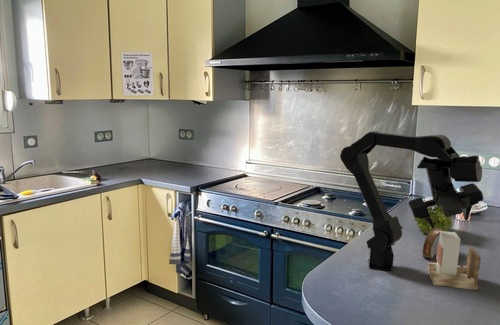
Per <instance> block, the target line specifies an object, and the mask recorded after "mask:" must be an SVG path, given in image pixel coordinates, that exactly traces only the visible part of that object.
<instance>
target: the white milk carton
mask: <svg viewBox="0 0 500 325" xmlns="http://www.w3.org/2000/svg"><path fill="white" fill-rule="evenodd" d="M461 240H462V239H461V238H460V236H459V235H458V234H457V232H454V231H447V232H446V231H440V240H439V243H438V248H437V254H436V258H435V259H436V263H437V267H436V270H437V272H438V274H447V275H455V276H456V273H457V265H458V264H459V254H460V246H461ZM458 266H459V265H458Z"/></svg>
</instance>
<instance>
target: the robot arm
mask: <svg viewBox="0 0 500 325" xmlns="http://www.w3.org/2000/svg"><path fill="white" fill-rule="evenodd" d="M376 146H381V147H387V148H395V149H403V150H409V151H410V150H411V151H414V152H416V153H418V154H420V155H423V157H422V159H421V160H420V161H419V163H418V165H417V169H425V170H426V174H427V179H428V184H429V189H430V194H431V197H432V199H429V200H426V201H424V199H423V198H422V197H418V198H415V199H410V200H409V201H408V208H409V210H410V213H411V214H412V216H413V217H414V218H420V219H422V218H424V219H426V220H427V221H428V223H429V224H430V226H431V227H432V228H433V229H435V228H434V224H433V222H432V220H431V217H430V214H429V212H428V209H429V208H432V209H434V207H436V206H440V208H441V210H442V212H443V214H444V216H446V217H451V216H453V217H454V216H456V215H461V214H462V215H463V217H464V221H466V222H467V221H468V219H469V217H470V213H471V211H472V208H473V206H475V205H478V204H479V202H482V201H483V200H484V195H483V194H484V193H483V192H482V190H481V189H480V188H479V187H478V186H477V185H476V184H475V183H480V182H481V181H482V178H483V167H482V164H481V160H480V156H479V155H469V156H460V155H459V153H458V152H457V151H456V149H454V147H453V146H452V144H451V140H450V139H449V137H447V136H446V135H443V134H434V135H432V134H431V135H419V136H418V135H417V136H415V135H405V134H398V133H388V132H381V131H377V130H376V131H375V130H374V131H368V132H367V133H365V134H364V135H363V136H362V137H361V138H359V139H357V140H356V141H355V142H353V143H352V144H350V145H349V146H344V147H343V148H342V149H341V152H340V154H339V157H340V160H341V162H342V163H343V165H344V166H345V168H346V169H347V170H348V172H350V173H351V175H353V177H354V179H355V181H356V183H357V186H358V188H359V191H360V192H361V194H362V197H363V199H364V202H365V204H366V206H367V209H368V211H369V213H370V215H371V218H372V232H373V235H374V236H372V237H371V238H369V239H368V240H366V245H367V246H366V247H367V248H368V249H369V254H368V255H369V257H368V268H369V269H373V270H383V271H392V267H393V266H394V257H395V256H394V255H395V254H394V251H393V248H392V247H393V246H395V243H397V242H399V241H400V240H401V238H402V236H403V231H402V229H403V226H402V225H401V224H400V221H399V218H398V216H397V215H396V216H392V215H390V213H389V212H388V210H387V209H386V206H385V204H384V202H383V199H382V196H381V195H380V192H379V190H378V187H377V185H376V183H375V181H374V179H373V176H372V175H371V172H370V170H369V169H370V167H369V163H370V162H369V161H370V160H369V157H368V155H369V153H371V152H372V151H373V150H374V149H375V148H376ZM426 156H427V157H426ZM429 157H430V158H429ZM452 179H454V180H453V181H455V182H463V183H464V182H465V183H466V182H467V183H469V184H465V185H460V187H459V191H457V190H456V189H455V186H454V184H453V181H452Z"/></svg>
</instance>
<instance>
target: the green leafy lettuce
mask: <svg viewBox="0 0 500 325" xmlns="http://www.w3.org/2000/svg"><path fill="white" fill-rule="evenodd" d="M428 212H429V214H430V217H431V220H432V222H433V224H434V228H438V229H442V230H444V231H446V232H449V230H450V229H451V228H452V226H453V221H452V220H453V217H454V215H453V216H451V217H446V216H444V214H443V212H442V210H441V208H440V206H436V207H433V208H429V209H428ZM413 221H416V222H415V224H416V225H417V227H418V228H419V232H421V233H422V234H426V235H428V233H429V232H430V231H432V230H433V228H432V227H431V226H430V224H429V223H428V221H427V220H426V219H424V218H422V219H420V218H414V219H413Z"/></svg>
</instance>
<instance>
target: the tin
mask: <svg viewBox="0 0 500 325" xmlns="http://www.w3.org/2000/svg"><path fill="white" fill-rule="evenodd" d="M440 231H444V230H442V229H438V228H435V229H433V230H432V231H430V232H429V233H428V234H426V236H425V239H424V242H423V246H422V257H423V258H427V259H430V260H431V259H433V258H434V257H435V256H437V248H438V243H439V240H440Z"/></svg>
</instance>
